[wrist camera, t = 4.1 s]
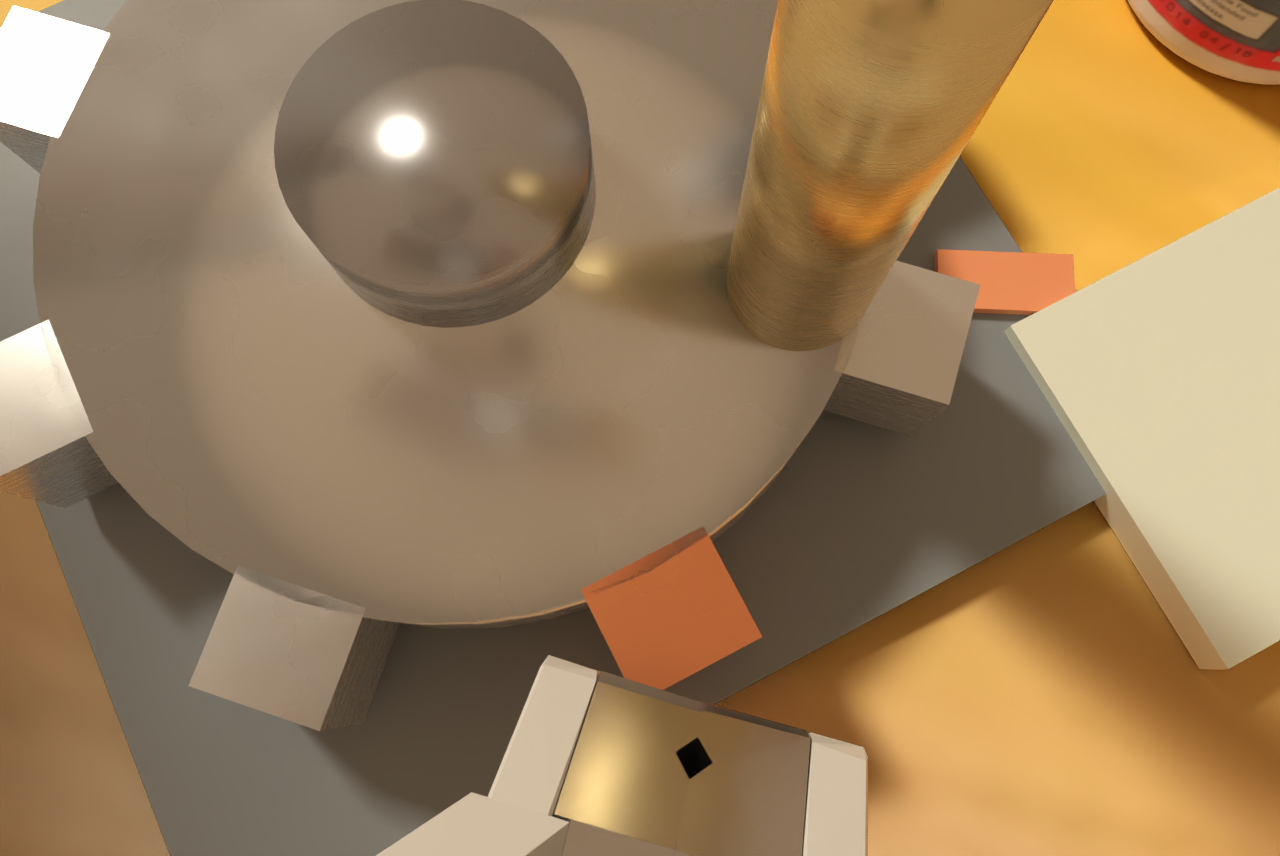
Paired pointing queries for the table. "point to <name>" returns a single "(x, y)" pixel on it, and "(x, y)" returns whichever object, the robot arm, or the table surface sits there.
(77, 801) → the table surface
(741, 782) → the robot arm
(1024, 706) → the table surface
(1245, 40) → the pill bottle
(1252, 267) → the pad
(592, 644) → the gray square plate
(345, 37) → the sprocket
